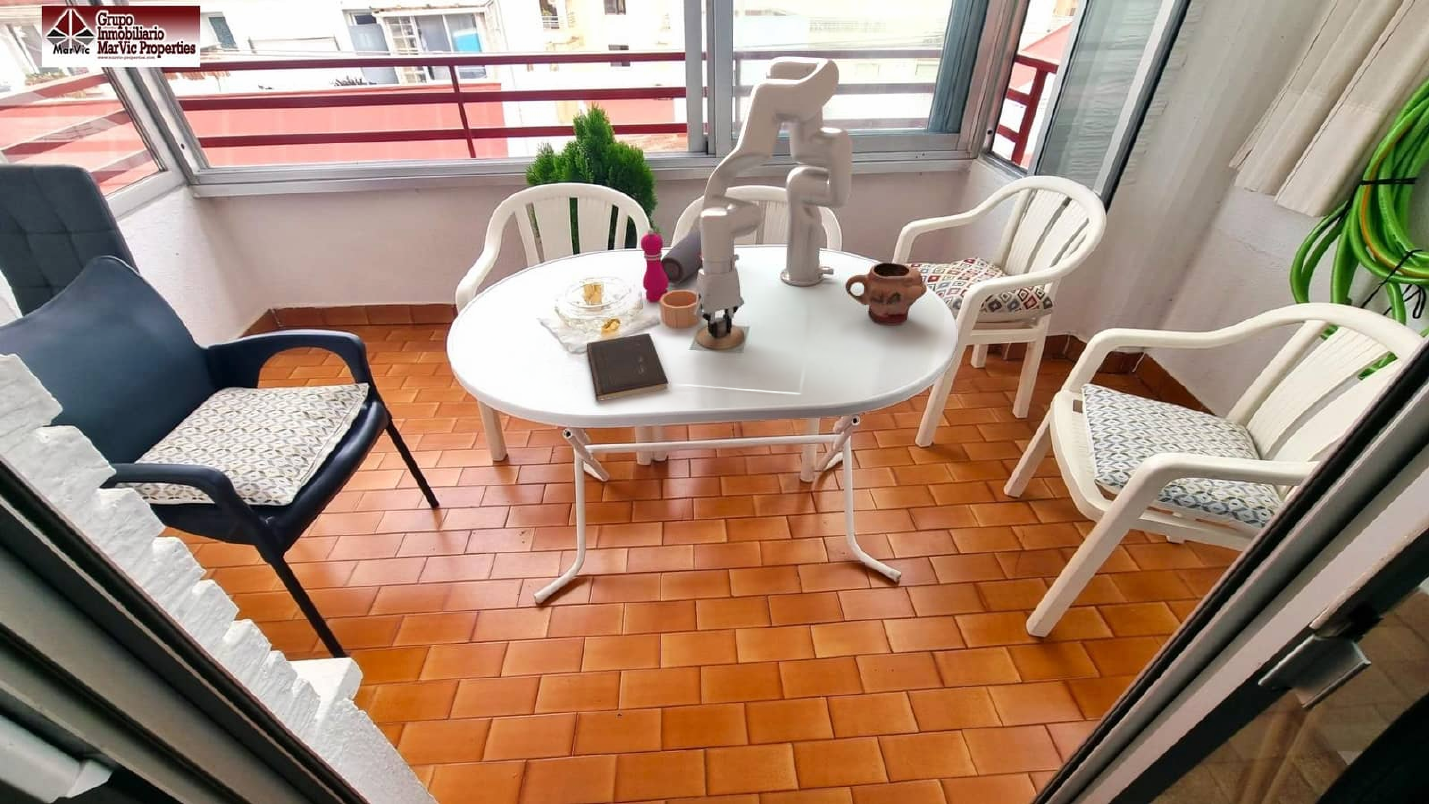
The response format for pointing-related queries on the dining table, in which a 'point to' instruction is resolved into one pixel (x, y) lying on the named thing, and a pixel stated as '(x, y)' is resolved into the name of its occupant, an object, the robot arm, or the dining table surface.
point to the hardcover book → (625, 366)
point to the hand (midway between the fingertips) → (720, 332)
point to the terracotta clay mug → (889, 291)
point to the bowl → (679, 309)
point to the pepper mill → (654, 267)
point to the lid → (720, 336)
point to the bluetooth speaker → (683, 258)
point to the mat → (736, 349)
